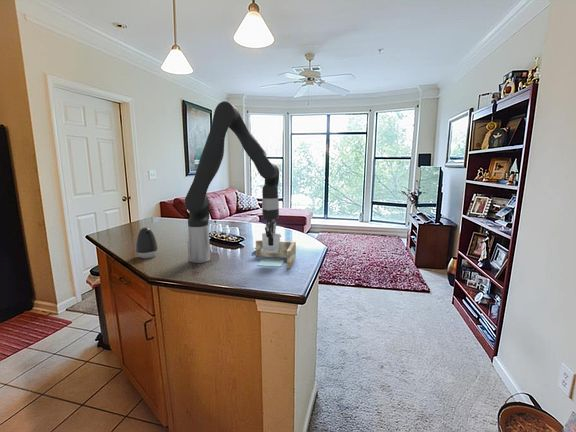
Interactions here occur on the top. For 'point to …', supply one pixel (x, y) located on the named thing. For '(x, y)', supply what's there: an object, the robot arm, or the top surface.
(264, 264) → the pad
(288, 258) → the arena
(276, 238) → the bracket
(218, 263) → the top surface
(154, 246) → the dark gray tapered dome
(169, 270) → the top surface
